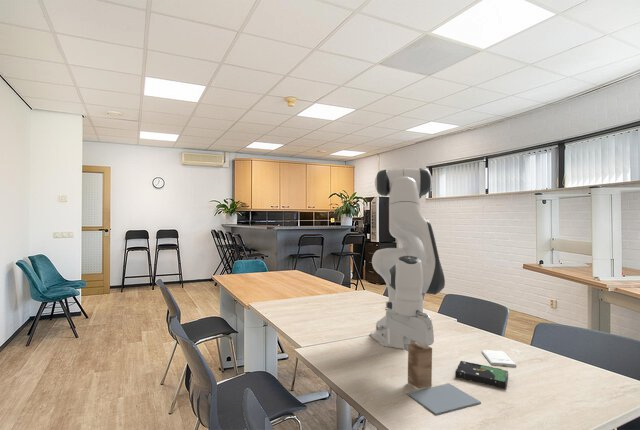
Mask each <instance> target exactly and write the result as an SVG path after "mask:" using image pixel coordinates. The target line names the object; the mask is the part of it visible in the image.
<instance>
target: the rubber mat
mask: <svg viewBox="0 0 640 430" xmlns="http://www.w3.org/2000/svg"><path fill="white" fill-rule="evenodd" d="M406 395H407V396H409V397H411V399H413V400H414V401H416V402H417V403H418V404H419V405H421V406H422V407H424V408H425V409H427V410H428V411H430V412H431V413H432V414H434V416H437V415H442V414H444V413H449V412H453V411H457V410H460V409H464V408H468V407H472V406H476V405H480V404H482V401H481V400H478V399H477V398H475V397H474V396H472V395H471V394H469V393H466V392H465V391H463V390H462V389H460V388H458V387H456V386H455V385H452V384H451V383H444V384H440V385H436V386H431V387H430V388H426V389H421V390H417V389H416V390H412V391H409V392H406Z"/></svg>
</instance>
